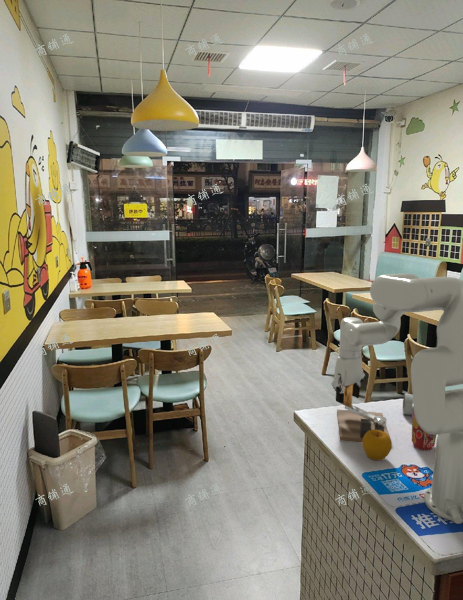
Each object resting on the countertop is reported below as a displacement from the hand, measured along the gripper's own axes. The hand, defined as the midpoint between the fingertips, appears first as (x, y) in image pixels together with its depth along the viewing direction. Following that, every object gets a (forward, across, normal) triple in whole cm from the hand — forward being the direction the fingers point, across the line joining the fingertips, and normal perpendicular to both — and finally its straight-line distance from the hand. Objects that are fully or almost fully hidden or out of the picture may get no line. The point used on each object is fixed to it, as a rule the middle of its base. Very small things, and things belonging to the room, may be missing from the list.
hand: (347, 399), depth 154 cm
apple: (+8, +12, +22) cm, 26 cm away
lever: (+4, 0, +7) cm, 8 cm away
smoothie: (+8, -6, +26) cm, 28 cm away
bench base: (+8, 0, +7) cm, 11 cm away
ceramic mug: (+8, -25, +10) cm, 28 cm away
